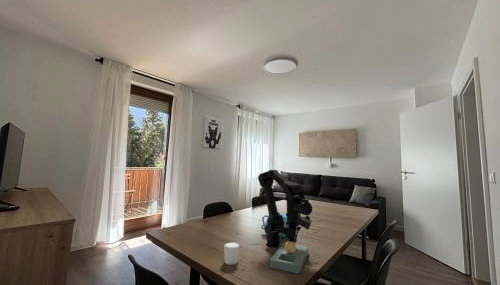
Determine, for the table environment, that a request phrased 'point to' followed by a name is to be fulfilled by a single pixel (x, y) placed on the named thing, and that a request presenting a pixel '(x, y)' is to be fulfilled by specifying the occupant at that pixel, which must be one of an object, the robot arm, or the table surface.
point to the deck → (289, 259)
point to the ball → (290, 247)
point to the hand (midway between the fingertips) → (293, 244)
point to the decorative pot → (283, 219)
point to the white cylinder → (231, 252)
